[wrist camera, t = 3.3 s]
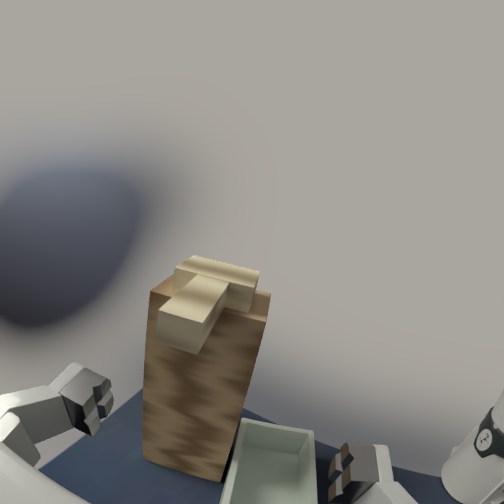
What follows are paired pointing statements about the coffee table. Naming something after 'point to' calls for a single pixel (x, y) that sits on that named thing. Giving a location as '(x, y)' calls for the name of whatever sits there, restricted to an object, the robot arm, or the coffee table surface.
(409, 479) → the coffee table surface
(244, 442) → the bin
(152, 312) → the stand
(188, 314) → the t-shaped wooden piece
